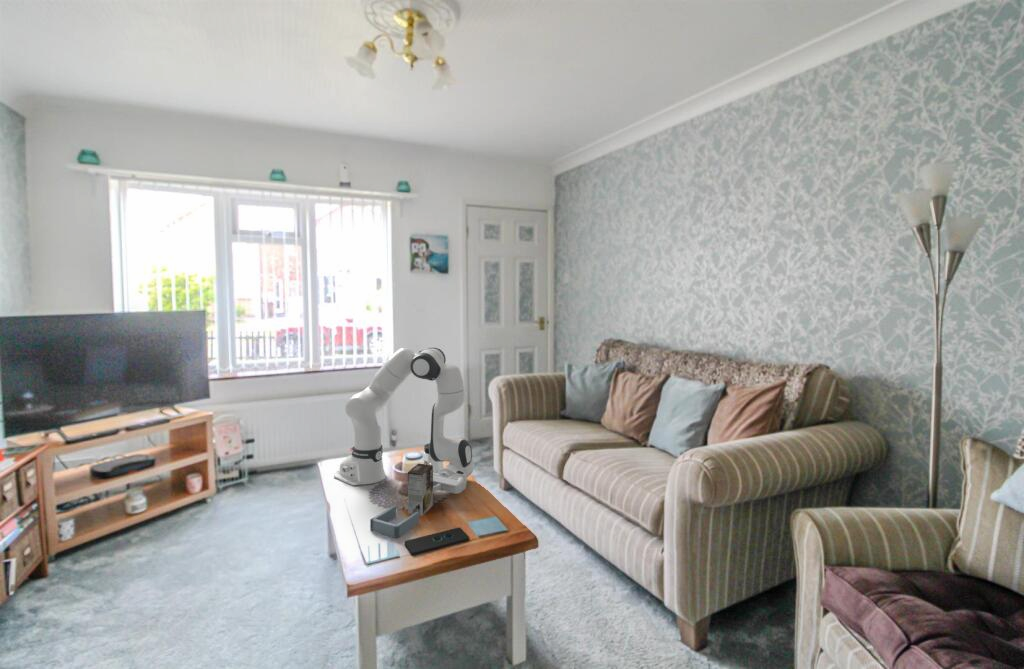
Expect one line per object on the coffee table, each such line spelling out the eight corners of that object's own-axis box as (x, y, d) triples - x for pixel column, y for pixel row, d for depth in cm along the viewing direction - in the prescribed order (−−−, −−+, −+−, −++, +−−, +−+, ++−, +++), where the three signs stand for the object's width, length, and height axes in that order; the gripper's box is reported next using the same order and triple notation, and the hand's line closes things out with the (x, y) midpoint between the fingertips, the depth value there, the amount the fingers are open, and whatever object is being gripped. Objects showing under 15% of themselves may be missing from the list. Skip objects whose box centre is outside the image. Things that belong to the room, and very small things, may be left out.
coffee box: (418, 503, 188) (418, 463, 187) (433, 505, 186) (433, 464, 185) (407, 513, 179) (407, 471, 178) (423, 516, 178) (423, 473, 176)
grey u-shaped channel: (370, 530, 167) (370, 519, 166) (393, 515, 177) (393, 505, 177) (396, 538, 162) (396, 527, 161) (419, 523, 173) (419, 512, 172)
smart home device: (470, 537, 161) (412, 552, 151) (470, 542, 161) (412, 558, 151) (459, 526, 168) (403, 540, 158) (459, 531, 168) (403, 545, 158)
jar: (446, 472, 220) (446, 446, 219) (430, 476, 215) (430, 450, 214) (436, 466, 227) (436, 441, 226) (420, 470, 222) (420, 444, 221)
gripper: (427, 465, 203) (406, 476, 191) (469, 474, 194) (450, 486, 182) (427, 480, 204) (406, 492, 191) (469, 489, 195) (450, 503, 183)
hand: (428, 489), depth 187 cm, fingers closed
